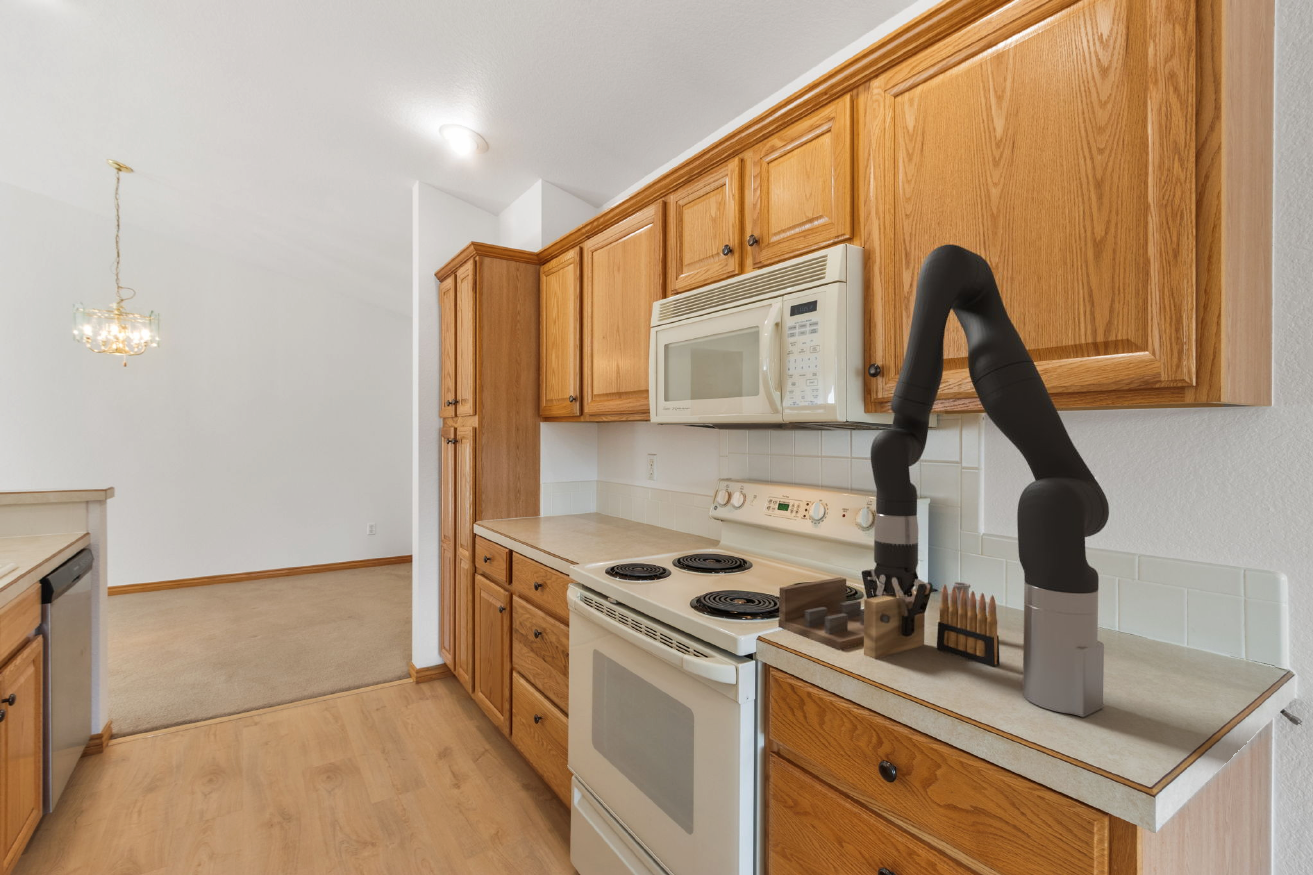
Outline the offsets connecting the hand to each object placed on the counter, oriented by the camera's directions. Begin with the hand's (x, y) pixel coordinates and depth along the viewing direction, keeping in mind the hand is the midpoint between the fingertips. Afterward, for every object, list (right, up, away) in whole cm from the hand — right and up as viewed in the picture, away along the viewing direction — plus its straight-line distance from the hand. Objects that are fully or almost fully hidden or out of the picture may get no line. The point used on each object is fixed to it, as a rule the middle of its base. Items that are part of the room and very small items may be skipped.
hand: (894, 631), depth 115 cm
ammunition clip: (+12, -4, -3) cm, 13 cm away
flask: (+17, -4, +9) cm, 19 cm away
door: (0, -3, 0) cm, 3 cm away
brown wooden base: (-7, -3, +11) cm, 13 cm away
